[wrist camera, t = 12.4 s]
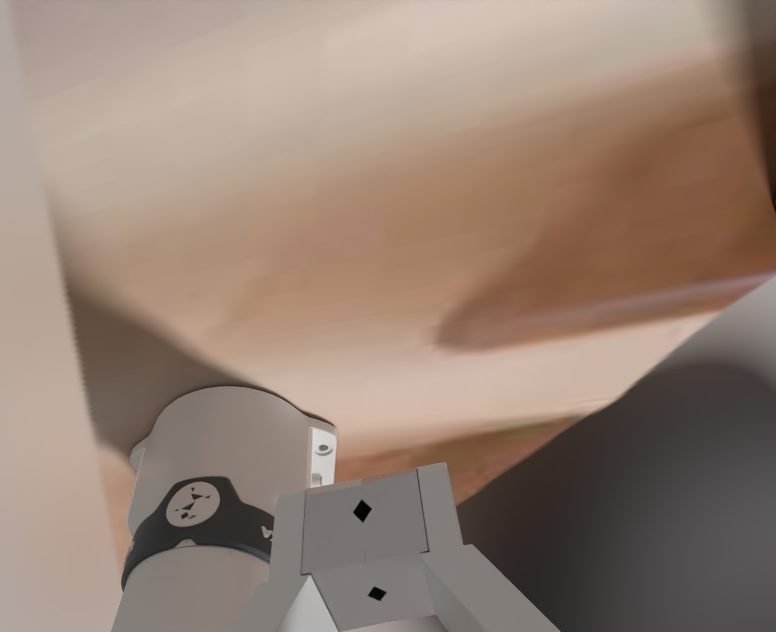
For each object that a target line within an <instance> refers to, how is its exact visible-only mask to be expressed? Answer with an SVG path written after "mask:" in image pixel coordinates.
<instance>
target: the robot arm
mask: <svg viewBox="0 0 776 632" xmlns="http://www.w3.org/2000/svg"><path fill="white" fill-rule="evenodd" d="M337 436H338V433H337V429H336V428H335V427H334V426H332V425H330V424H328V423H326V422H323V421H320V420H317V419H313V418H310V417H308V416H306V415H304V414H303V413H301V412H300V411H298V410H297V409H296V408H294V407H293V406H292V405H290V404H289V403H287V402H286V401H284V400H282V399H280V398H278V397H276V396H274V395H272V394H269V393H266V392H263V391H260V390H256V389H251V388H245V387H234V386H222V387H212V388H206V389H201V390H198V391H194V392H191V393H189V394H186V395H184V396H182V397H180V398H178V399H177V400H175V401H174V402H172V403H171V404H170V405H168V406H167V407H166V408H165V409H164V410H163V411H162V413H161V414H160V415H159V417H158V419H157V420H156V423H155V425H154V427H153V430H152V432H151V433H150V435H149V436H148V437H147V438H145V439H144V440H142V441H141V442H140V443H138V444H137V445H136V446H135V447H134V448H133V449H132V451H131V455H130V460H129V462H130V464H131V466H132V467H133V468H134V469H135V471H136V472H137V477H136V481H135V485H134V489H133V493H132V497H131V501H130V505H129V509H128V514H127V518H126V528H127V529H128V530H130V532H131V534H132V536H133V540H132V543H131V546H130V547H129V549H128V551H127V555H126V558H125V562H124V571H123V575H122V580H121V586H122V590H123V595H122V599H121V602H120V605H119V609H118V611H117V615H116V618H115V621H114V624H113V627H112V631H111V632H342V631H346V630H351V629H356V628H360V627H365V626H370V625H375V624H380V623H384V622H390V621H396V620H403V619H409V618H416V617H423V616H429V615H436V614H437V617H438V618H439V619H440V621H441V622H442V623H443V625H444V626H445V627H446V629H447V630H448V631H449V632H560V631H559V630H558V629H557V628H556V627H555V626H554V625H553V624H552V623H551V622H550V621H549V620H548V619H547V618H546V617H545V616H544V615H543V614H542V613H541V612H540V611H539V610H538V609H537V608H536V607H535V606H534V605H533V604H532V603H531V602H530V601H529V600H528V599H527V598H526V597H525V596H524V595H523V594H522V593H521V592H520V591H519V590H518V589H517V588H516V587H515V586H514V585H513V584H512V583H511V582H510V581H509V580H508V579H507V578H506V577H505V576H503V574H502V573H500V571H499V570H498V569H497V568H496V567H495V566H494V565H493V564H492V563H491V562H490V561H488V560H487V559H486V558H485V557H484V556H483V555H482V554H481V553H480V552H479V551H478V550H477V549H476V548H475V547H474V546H473V545H472V544H471V545H464V546H463V541H462V536H461V532H460V527H459V522H458V518H457V512H456V507H455V502H454V498H453V493H452V488H451V483H450V478H449V473H448V468H447V465H446V462H443V463H437V464H432V465H427V466H422V467H414V468H409V469H404V470H399V471H394V472H390V473H385V474H380V475H375V476H370V477H365V478H362V479H361V480H355V481H349V482H343V483H336V484H334V474H335V461H336V449H337ZM417 468H418V469H417Z"/></svg>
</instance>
